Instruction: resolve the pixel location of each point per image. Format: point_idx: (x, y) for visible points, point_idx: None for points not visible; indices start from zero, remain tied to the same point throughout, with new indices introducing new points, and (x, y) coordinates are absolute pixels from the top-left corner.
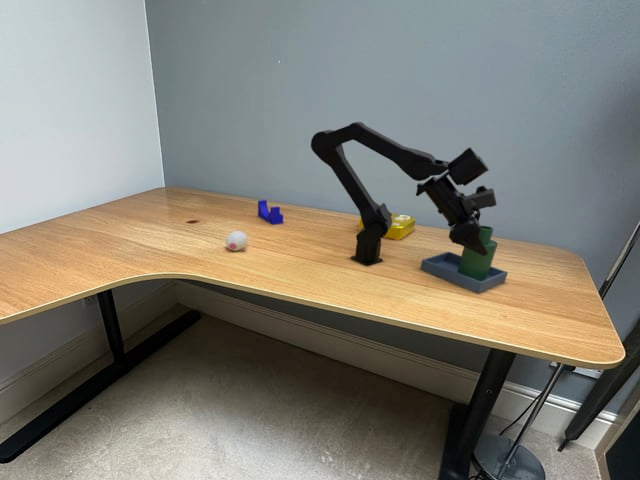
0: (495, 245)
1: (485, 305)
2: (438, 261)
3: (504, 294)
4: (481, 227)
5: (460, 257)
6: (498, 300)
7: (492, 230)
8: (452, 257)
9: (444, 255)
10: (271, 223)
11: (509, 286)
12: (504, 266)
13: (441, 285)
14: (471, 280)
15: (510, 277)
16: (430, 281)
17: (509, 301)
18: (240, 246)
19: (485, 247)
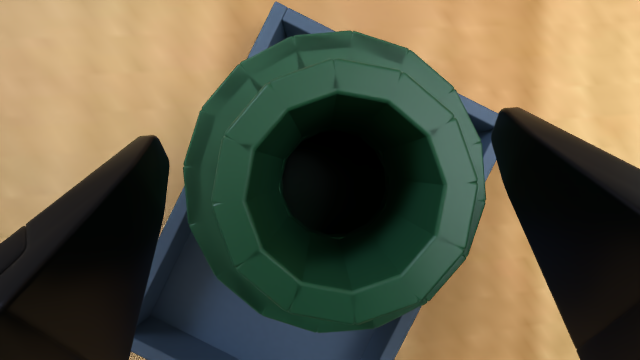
0: (394, 47)
1: (593, 94)
2: (221, 355)
3: (429, 24)
4: (278, 254)
5: (163, 261)
6: (510, 46)
7: (402, 75)
8: (150, 299)
9: (169, 348)
10: None
11: (320, 5)
12: (56, 33)
13: (481, 289)
14: (486, 172)
15: (199, 3)
16: (462, 342)
17: (495, 2)
18: None
19: (475, 135)
